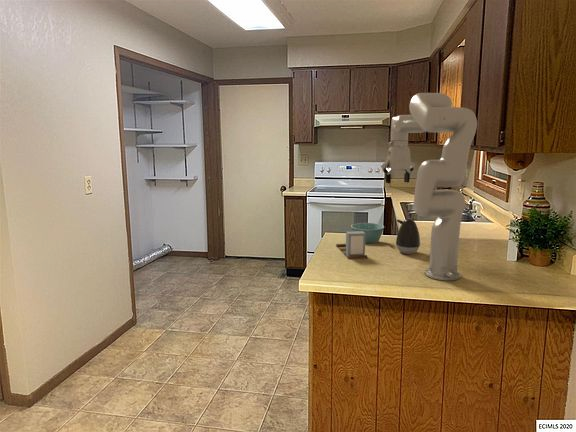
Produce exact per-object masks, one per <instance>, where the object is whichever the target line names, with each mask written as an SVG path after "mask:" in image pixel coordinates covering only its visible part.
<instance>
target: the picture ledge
mask: <svg viewBox="0 0 576 432" xmlns="http://www.w3.org/2000/svg"><path fill="white" fill-rule="evenodd" d="M335 247H336V248H337V249H338V250H339V251H340V252H341V254H342V255H344V256H345V257H346V258H347V259H348V260H352V259H353V260H357V259H367V258H368V255H367V254H365V255H354V256H348V257H347V256H346V243H336V244H335Z"/></svg>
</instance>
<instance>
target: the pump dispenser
mask: <svg viewBox="0 0 576 432" xmlns="http://www.w3.org/2000/svg"><path fill="white" fill-rule="evenodd" d="M396 222H397V223H399V224H400V226H399V229H398V232H397V234H396V241H395V244H396V247H397V250H398V251H399V253H402V254H404V255H405V254H406V255H412V254H415V253H417V252H418V250H419V248H420V246H421V238H420V232H419V227H418V225H417V223H416V222H415V220H414V219H412V218H406V219H404V220H401V219H397V220H396Z"/></svg>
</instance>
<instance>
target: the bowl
mask: <svg viewBox="0 0 576 432" xmlns="http://www.w3.org/2000/svg"><path fill="white" fill-rule="evenodd" d="M350 227H351V232H353V231H363V232H364V233H365V244H377V243H379V241H380V238H381V236H382V235H383V232H384V229H385V226H384V225H382V224H380V223H373V222H358V223H354V224H351V225H350Z"/></svg>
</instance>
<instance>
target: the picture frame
mask: <svg viewBox="0 0 576 432" xmlns="http://www.w3.org/2000/svg"><path fill="white" fill-rule="evenodd" d="M345 244H346V256H347V257H348V256H354V255H366V243H365V233H364V232H363V231H346V232H345ZM346 256H345V257H346ZM347 257H346V258H347Z"/></svg>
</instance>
